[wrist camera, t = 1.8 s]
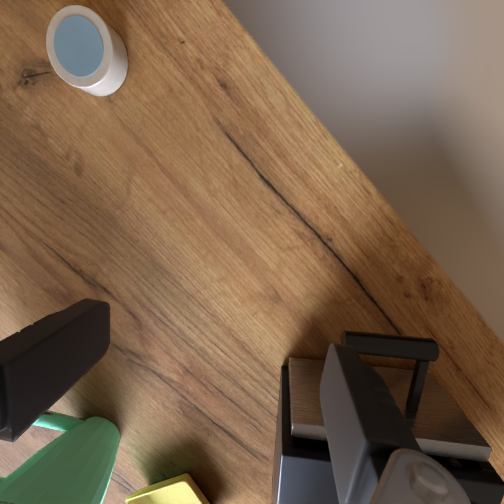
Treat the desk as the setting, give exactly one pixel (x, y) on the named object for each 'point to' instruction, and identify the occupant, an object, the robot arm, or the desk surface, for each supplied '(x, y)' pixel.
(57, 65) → the button
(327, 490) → the black box
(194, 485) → the yellow square dish
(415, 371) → the drawer
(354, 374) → the robot arm
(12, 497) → the mug
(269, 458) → the desk surface
